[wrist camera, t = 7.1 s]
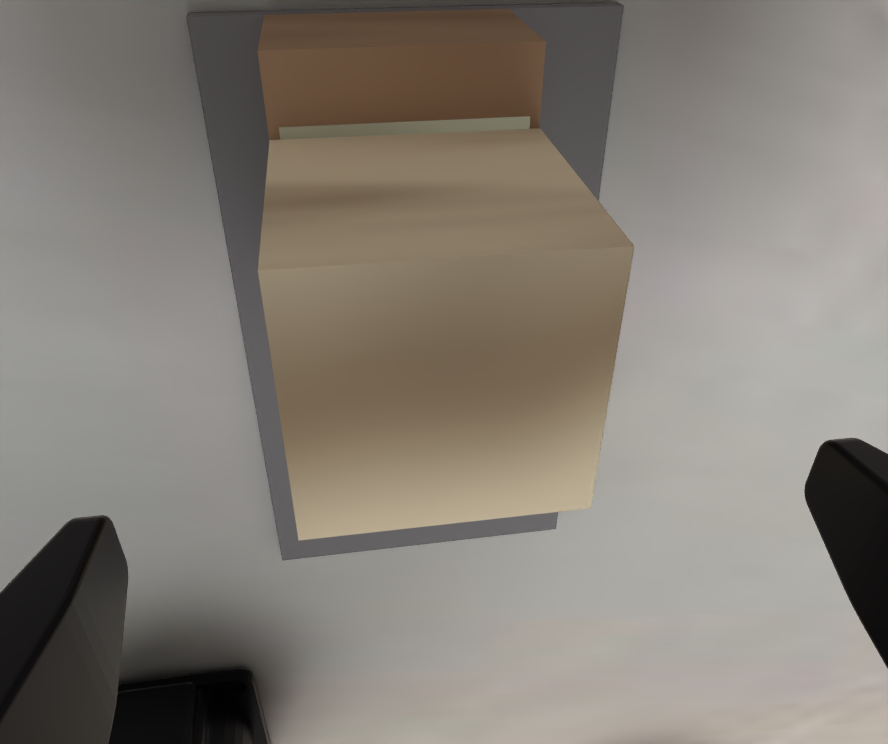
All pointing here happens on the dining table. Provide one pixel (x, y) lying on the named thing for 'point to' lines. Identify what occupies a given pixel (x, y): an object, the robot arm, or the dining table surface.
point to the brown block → (399, 73)
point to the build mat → (243, 189)
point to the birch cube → (437, 327)
